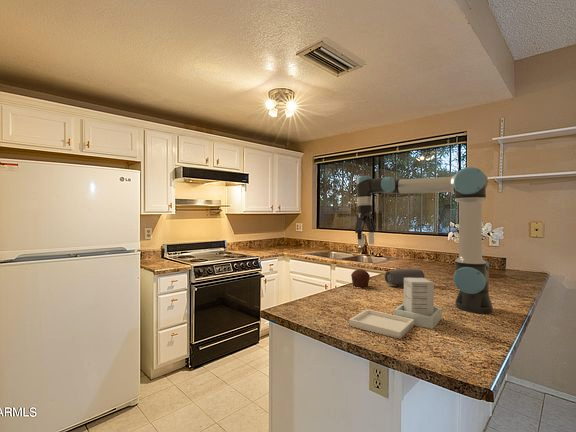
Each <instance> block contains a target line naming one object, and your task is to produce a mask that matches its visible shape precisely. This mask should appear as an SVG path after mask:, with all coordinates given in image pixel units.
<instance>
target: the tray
mask: <svg viewBox="0 0 576 432" xmlns="http://www.w3.org/2000/svg"><path fill="white" fill-rule="evenodd" d="M348 326H349V327H351V326H352V327H353V328H355V327H356V329H359V328H360V330H363V331H366V330H367V332H370V331H371V332H370V333H374V332H375V334H378V333H379V334H378V335H382V334H383V336H385V335H387V336H386V337H389V336H391V337H390V338H393V337H394V338H393V339H397V338H398V339H397V340H401V339H402V338H403V337H405V335H406V334H407V333H408V332H409V331H410V330H412V329H413V328H414V326H415V325H414V319H410V318H405V317H401V316H396V315H394V314H391V313H386V312H381V311H377V310H372V309H368V308H366V309H364V310H363V311H360V312H359V313H358V314H356V315H354V316H352V317H351V318H349V319H348Z"/></svg>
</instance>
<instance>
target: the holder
mask: <svg viewBox="0 0 576 432" xmlns="http://www.w3.org/2000/svg"><path fill="white" fill-rule="evenodd" d="M442 310H443V309H442V308H441V307H438V306H437V307H436V306H434V313H433V314H432V315H431V316H427V315H422V314H418V313H413V312H408V311H404V302H403V303H401V304H399V306H397V307H395V308H394V309H393V315H396V316H401V317H405V318H410V319H414V326H418V327H422V328H427V329H430V330H434V328H435V327H436V325H437V324H439V322H440V321H441V320H442V317H443V316H442V313H443V312H442Z"/></svg>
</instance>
